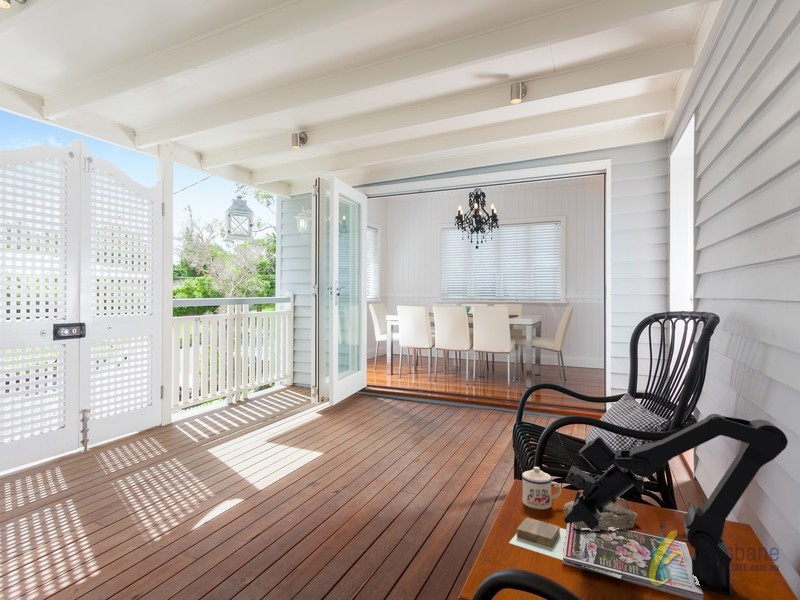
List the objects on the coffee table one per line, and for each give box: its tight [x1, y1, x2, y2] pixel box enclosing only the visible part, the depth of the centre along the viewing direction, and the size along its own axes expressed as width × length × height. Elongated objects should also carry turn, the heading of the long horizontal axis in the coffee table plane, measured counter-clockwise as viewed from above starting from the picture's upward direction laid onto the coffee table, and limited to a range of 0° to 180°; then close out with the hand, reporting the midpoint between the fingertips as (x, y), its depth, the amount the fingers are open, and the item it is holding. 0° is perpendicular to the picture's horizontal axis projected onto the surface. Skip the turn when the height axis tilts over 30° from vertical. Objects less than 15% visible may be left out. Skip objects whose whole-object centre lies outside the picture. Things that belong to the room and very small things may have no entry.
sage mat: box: [508, 527, 622, 579], centre depth 109 cm, size 26×16×1 cm, turn 55°
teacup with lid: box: [521, 466, 562, 510], centre depth 134 cm, size 12×9×12 cm
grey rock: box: [563, 500, 638, 530], centre depth 123 cm, size 14×5×20 cm
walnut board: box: [516, 517, 561, 548], centre depth 114 cm, size 2×8×9 cm
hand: (565, 521), depth 110 cm, fingers closed
